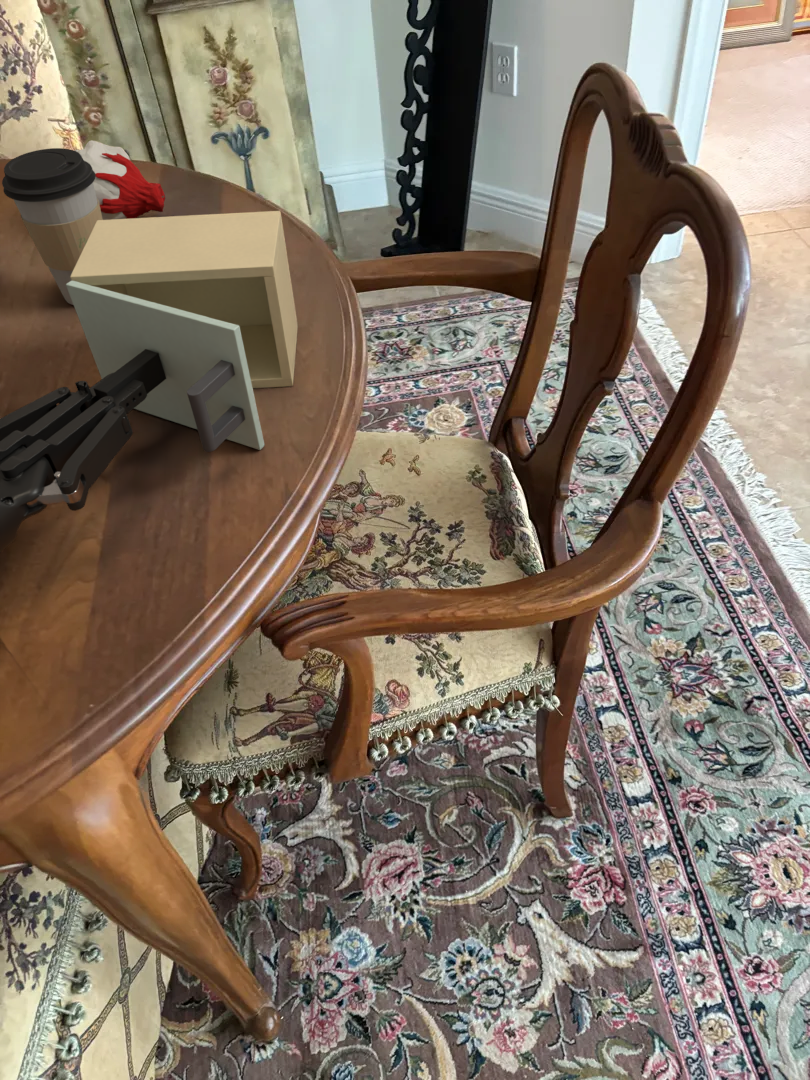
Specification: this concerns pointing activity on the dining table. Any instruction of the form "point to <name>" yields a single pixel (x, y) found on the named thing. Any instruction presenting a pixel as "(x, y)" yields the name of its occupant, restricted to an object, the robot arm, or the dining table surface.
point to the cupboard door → (175, 362)
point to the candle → (120, 183)
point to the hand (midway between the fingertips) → (155, 364)
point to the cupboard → (206, 277)
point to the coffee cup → (55, 206)
